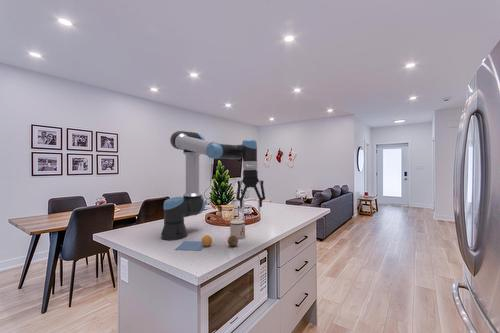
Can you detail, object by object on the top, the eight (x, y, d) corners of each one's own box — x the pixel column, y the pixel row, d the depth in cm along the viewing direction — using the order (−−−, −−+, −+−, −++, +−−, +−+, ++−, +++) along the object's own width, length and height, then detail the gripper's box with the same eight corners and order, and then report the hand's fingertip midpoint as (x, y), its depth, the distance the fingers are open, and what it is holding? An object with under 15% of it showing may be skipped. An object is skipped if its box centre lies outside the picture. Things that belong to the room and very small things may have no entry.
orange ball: (200, 247, 123) (200, 236, 123) (203, 244, 128) (203, 233, 128) (210, 247, 122) (210, 237, 122) (213, 244, 128) (213, 234, 128)
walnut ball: (226, 247, 121) (226, 237, 122) (228, 244, 127) (228, 234, 127) (237, 248, 121) (237, 237, 121) (239, 244, 126) (238, 234, 126)
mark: (174, 250, 120) (174, 249, 120) (184, 241, 134) (184, 241, 134) (201, 250, 119) (201, 250, 119) (208, 241, 132) (208, 241, 132)
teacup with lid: (243, 239, 135) (243, 219, 135) (228, 238, 137) (227, 218, 137) (247, 233, 147) (247, 214, 147) (233, 233, 149) (233, 214, 149)
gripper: (229, 170, 120) (230, 214, 120) (269, 169, 118) (270, 214, 118) (232, 169, 128) (233, 212, 128) (270, 169, 126) (271, 211, 126)
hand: (251, 213), depth 123 cm, fingers open, 8 cm apart
